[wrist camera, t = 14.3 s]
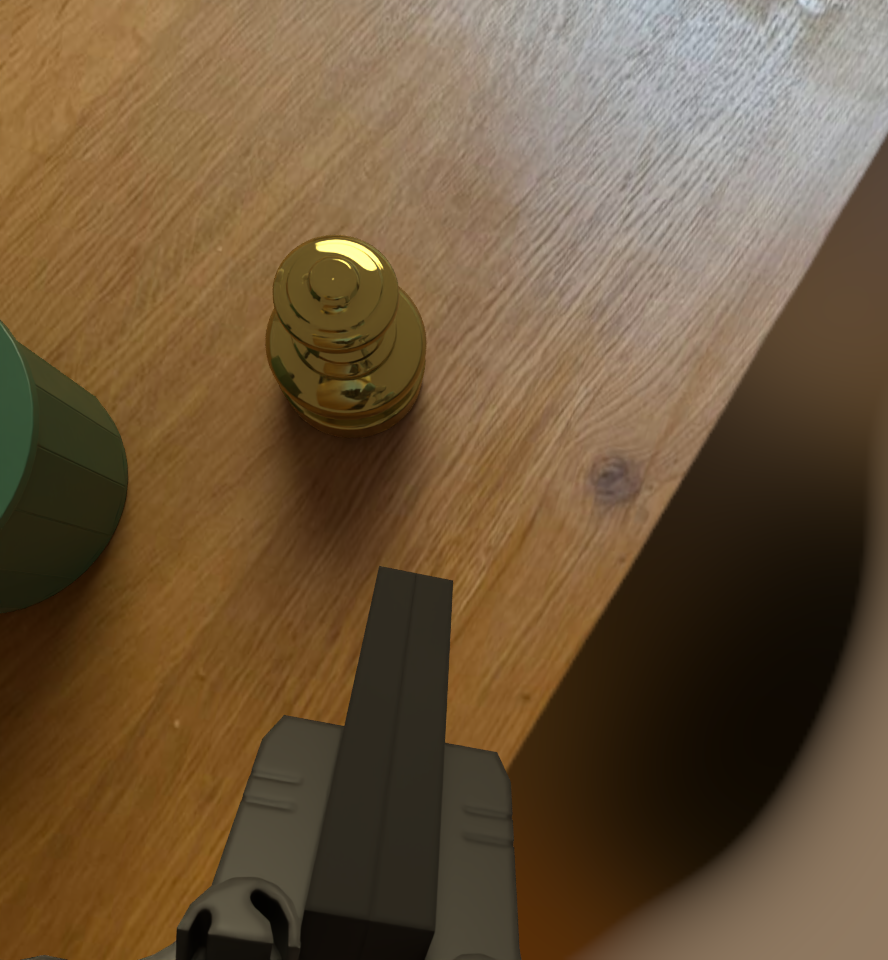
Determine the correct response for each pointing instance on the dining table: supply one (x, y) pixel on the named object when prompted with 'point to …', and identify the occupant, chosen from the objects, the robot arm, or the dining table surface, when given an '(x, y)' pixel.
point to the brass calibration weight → (344, 338)
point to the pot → (62, 493)
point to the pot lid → (15, 423)
